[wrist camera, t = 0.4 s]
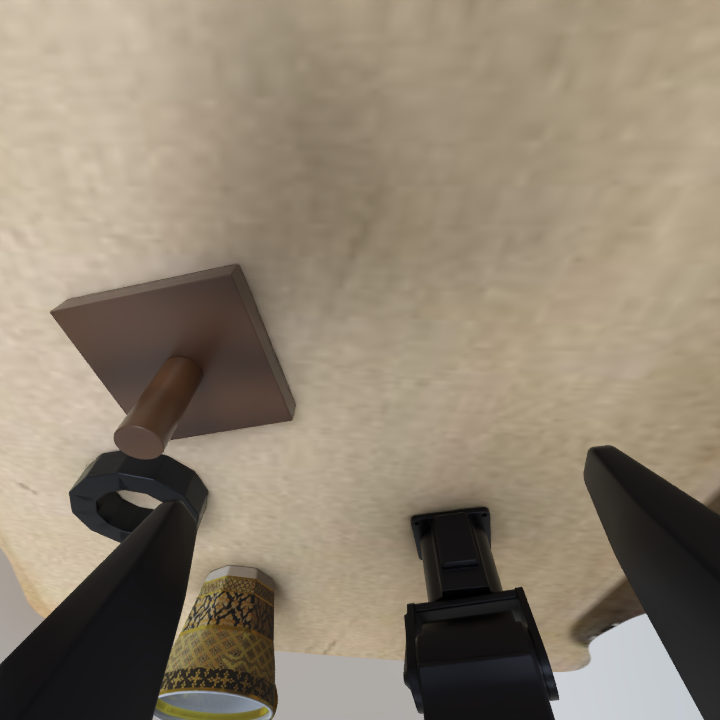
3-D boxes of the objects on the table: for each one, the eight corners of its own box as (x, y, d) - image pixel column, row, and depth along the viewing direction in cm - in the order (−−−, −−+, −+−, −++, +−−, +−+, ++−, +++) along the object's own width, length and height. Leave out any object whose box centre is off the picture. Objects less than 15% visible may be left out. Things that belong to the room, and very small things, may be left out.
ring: (224, 514, 33) (217, 539, 31) (127, 528, 34) (114, 552, 32) (174, 441, 28) (161, 466, 26) (61, 459, 29) (41, 484, 27)
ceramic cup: (168, 573, 38) (116, 705, 30) (248, 544, 35) (215, 682, 27) (252, 622, 44) (228, 742, 36) (325, 601, 42) (317, 727, 33)
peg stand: (296, 405, 26) (278, 495, 20) (157, 428, 27) (102, 520, 21) (238, 262, 20) (191, 331, 14) (66, 299, 21) (-43, 376, 15)
